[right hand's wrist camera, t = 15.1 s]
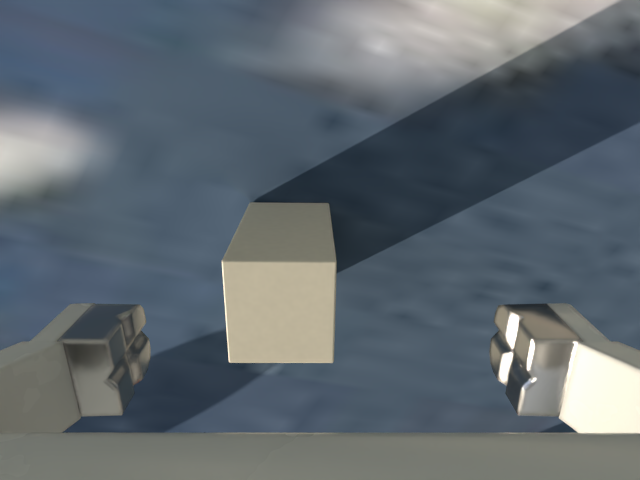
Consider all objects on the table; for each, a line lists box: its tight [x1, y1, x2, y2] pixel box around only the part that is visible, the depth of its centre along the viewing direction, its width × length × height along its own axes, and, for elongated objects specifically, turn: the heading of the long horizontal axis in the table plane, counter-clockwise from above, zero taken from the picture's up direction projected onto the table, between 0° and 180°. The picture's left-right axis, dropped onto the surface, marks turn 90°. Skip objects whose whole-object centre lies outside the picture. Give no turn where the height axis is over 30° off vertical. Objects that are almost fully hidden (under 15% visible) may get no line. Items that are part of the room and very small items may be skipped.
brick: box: [222, 202, 337, 363], centre depth 25 cm, size 5×6×10 cm
